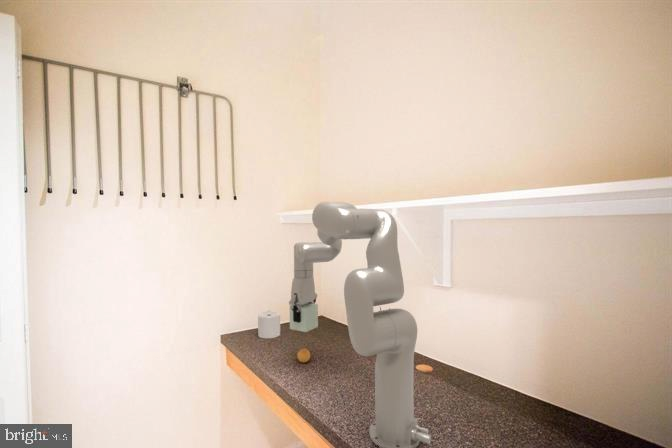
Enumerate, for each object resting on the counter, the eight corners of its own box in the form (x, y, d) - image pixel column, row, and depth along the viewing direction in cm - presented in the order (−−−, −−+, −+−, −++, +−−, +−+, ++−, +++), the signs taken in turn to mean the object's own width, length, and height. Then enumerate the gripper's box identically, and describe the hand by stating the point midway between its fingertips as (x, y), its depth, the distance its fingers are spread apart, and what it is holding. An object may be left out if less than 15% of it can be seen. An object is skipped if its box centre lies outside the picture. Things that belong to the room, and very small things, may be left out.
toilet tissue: (265, 340, 152) (264, 318, 152) (252, 334, 161) (252, 314, 161) (284, 335, 159) (284, 314, 159) (271, 329, 168) (271, 310, 168)
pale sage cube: (317, 326, 128) (317, 304, 128) (305, 332, 122) (305, 308, 122) (302, 323, 132) (302, 302, 132) (289, 329, 126) (289, 306, 126)
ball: (308, 362, 129) (315, 354, 127) (300, 367, 125) (307, 359, 123) (300, 351, 131) (307, 344, 129) (292, 356, 127) (299, 348, 125)
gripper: (309, 271, 137) (309, 312, 136) (281, 276, 122) (281, 323, 122) (324, 272, 133) (324, 315, 132) (297, 277, 118) (297, 326, 118)
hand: (303, 318), depth 127 cm, fingers closed on pale sage cube, 7 cm apart
